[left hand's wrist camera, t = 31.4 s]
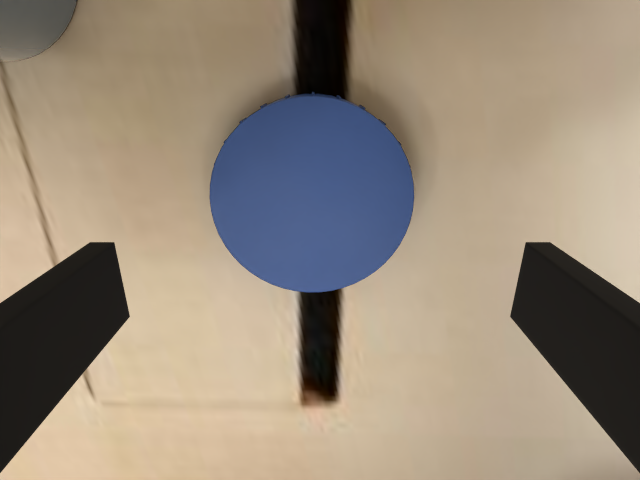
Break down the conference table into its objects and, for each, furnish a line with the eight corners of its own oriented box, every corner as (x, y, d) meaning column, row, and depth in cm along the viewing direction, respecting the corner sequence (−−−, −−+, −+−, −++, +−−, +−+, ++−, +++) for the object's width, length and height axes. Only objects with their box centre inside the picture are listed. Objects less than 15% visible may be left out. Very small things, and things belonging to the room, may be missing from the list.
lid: (438, 215, 20) (451, 229, 18) (290, 302, 22) (288, 324, 20) (341, 47, 17) (344, 44, 15) (178, 166, 19) (163, 177, 17)
